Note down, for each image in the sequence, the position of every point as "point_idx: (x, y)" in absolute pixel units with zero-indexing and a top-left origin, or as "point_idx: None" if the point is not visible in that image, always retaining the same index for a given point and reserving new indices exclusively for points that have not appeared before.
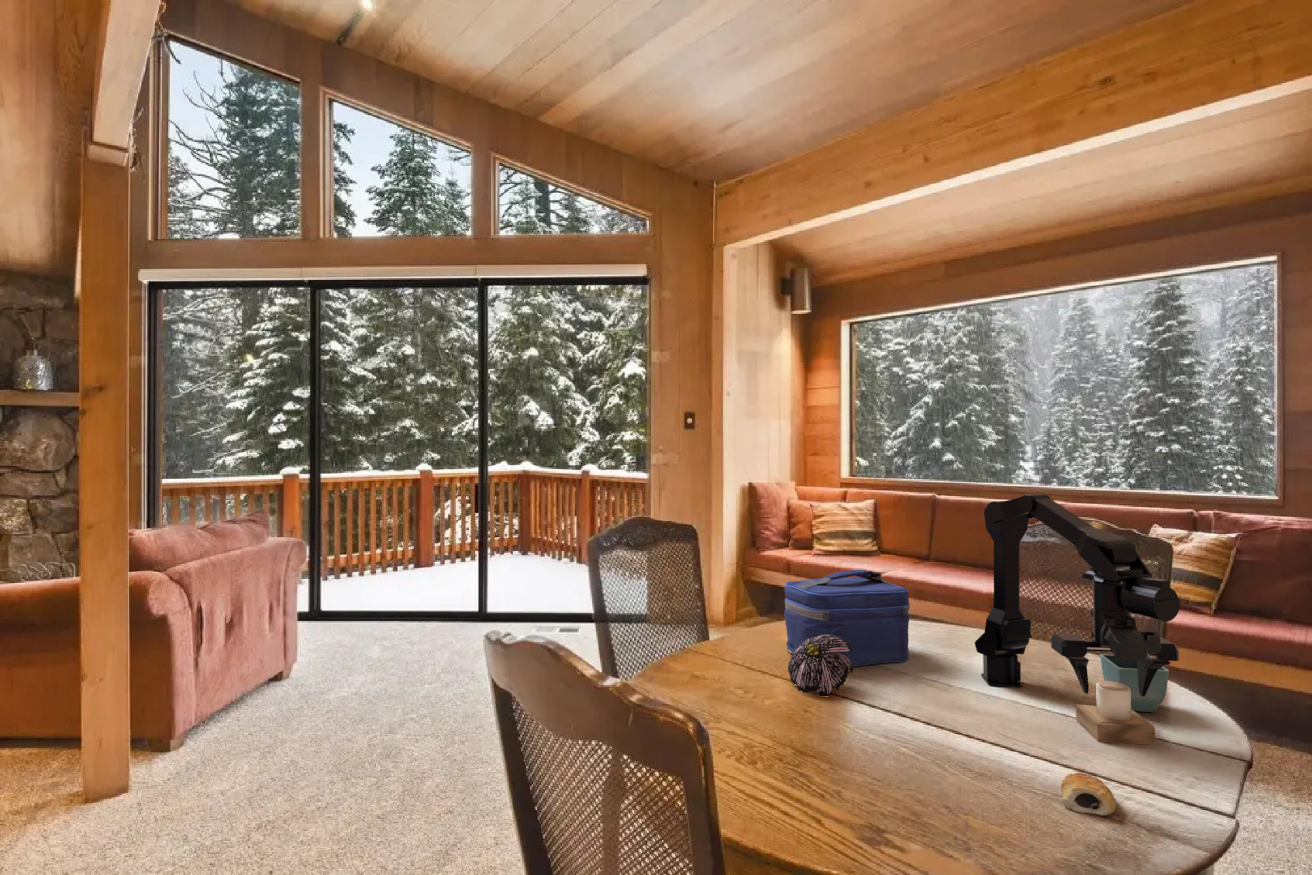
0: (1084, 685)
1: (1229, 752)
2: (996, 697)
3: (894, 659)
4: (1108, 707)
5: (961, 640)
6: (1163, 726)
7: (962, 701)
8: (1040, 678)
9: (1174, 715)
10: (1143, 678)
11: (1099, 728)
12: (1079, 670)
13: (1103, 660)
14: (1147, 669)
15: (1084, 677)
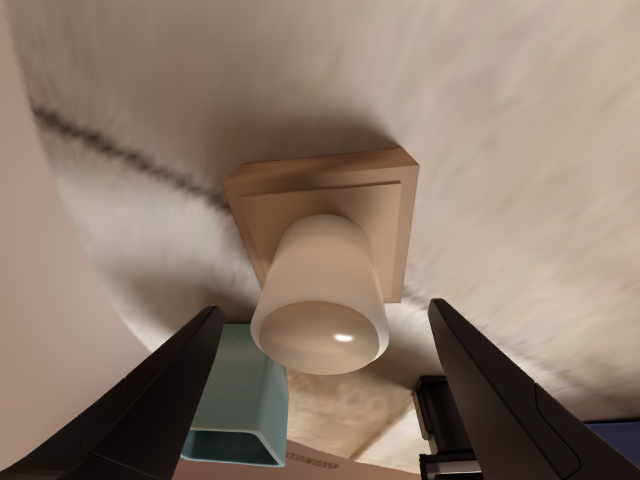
0: (474, 329)
1: (69, 158)
2: (503, 343)
3: (601, 429)
4: (357, 245)
5: (416, 455)
6: (212, 273)
7: (611, 321)
8: (367, 397)
9: (191, 317)
10: (168, 385)
11: (407, 160)
12: (606, 444)
13: (282, 449)
14: (88, 460)
15: (509, 378)
